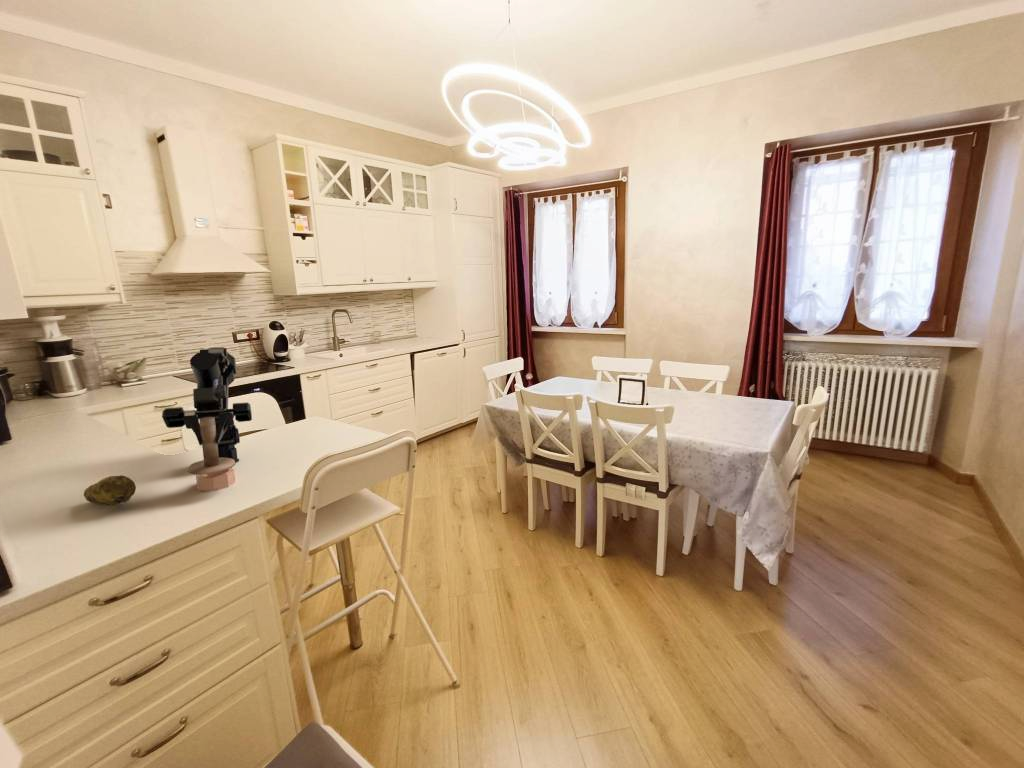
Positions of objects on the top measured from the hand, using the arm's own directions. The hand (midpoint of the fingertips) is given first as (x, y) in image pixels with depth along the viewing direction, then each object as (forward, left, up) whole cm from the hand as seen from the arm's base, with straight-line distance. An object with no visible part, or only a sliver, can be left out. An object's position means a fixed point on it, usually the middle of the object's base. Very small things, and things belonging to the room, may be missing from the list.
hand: (208, 443), depth 112 cm
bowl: (-3, +5, -13) cm, 14 cm away
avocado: (-19, -8, -13) cm, 24 cm away
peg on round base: (-1, +1, -7) cm, 7 cm away
